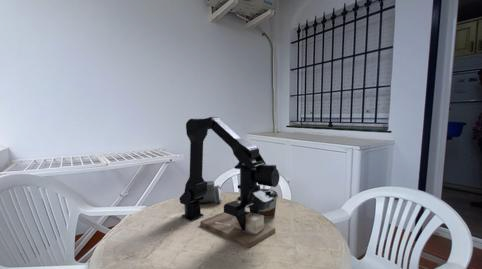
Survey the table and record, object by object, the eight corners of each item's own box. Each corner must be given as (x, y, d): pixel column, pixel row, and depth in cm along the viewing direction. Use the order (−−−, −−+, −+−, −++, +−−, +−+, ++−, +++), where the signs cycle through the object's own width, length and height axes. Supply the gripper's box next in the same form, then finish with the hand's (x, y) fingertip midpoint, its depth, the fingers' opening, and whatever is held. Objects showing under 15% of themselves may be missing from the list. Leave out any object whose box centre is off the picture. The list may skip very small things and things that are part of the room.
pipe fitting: (222, 198, 118) (219, 178, 117) (221, 205, 110) (218, 184, 109) (198, 201, 119) (195, 181, 117) (195, 208, 111) (192, 187, 110)
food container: (277, 211, 102) (277, 188, 102) (278, 217, 96) (278, 192, 96) (248, 210, 103) (248, 187, 103) (247, 216, 97) (247, 192, 97)
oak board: (200, 225, 90) (200, 221, 89) (227, 214, 100) (227, 210, 100) (249, 248, 73) (249, 243, 73) (275, 232, 84) (275, 227, 84)
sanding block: (234, 228, 83) (233, 214, 83) (242, 223, 87) (242, 209, 87) (255, 235, 78) (255, 220, 78) (263, 229, 82) (263, 215, 82)
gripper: (248, 193, 69) (249, 246, 70) (283, 181, 83) (283, 225, 84) (222, 186, 77) (222, 234, 78) (258, 176, 91) (258, 216, 91)
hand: (248, 227), depth 83 cm, fingers closed on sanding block, 5 cm apart
